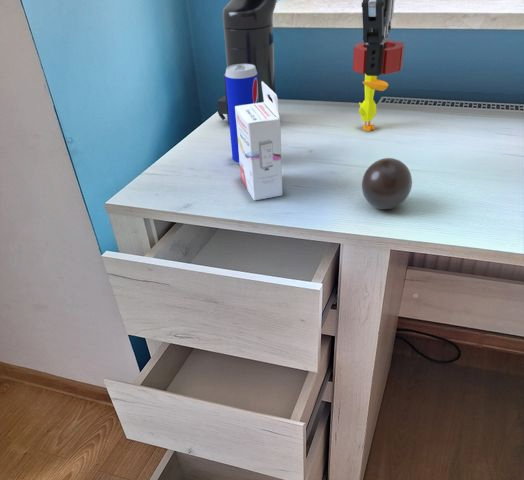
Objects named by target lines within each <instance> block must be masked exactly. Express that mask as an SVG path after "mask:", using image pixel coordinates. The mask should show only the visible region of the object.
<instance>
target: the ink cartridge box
mask: <svg viewBox="0 0 524 480" xmlns="http://www.w3.org/2000/svg"><path fill="white" fill-rule="evenodd" d="M261 84H262V92H263V99H264V102H261V103H254V104H247V105H240V106H235V114H236V124H237V136H238V148H239V162H240V165H239V171H240V172H239V173H240V180H241V182H242V183H243V185H244V187H245V189H246V190H247V191H248V193H249V194H250V196H251V198H252V200H253V201H260V200H265V199H270V198H275V197H281V196H283V169H282V168H283V167H282V165H283V163H282V132H281V131H282V129H281V117H280V116H281V115H280V105H279V99H278V98H279V97H278V95H277V94H276V92H275V93H274V92H273V91H272V90H271V89H270V88H269V87H268V86H267V85H266V84H265V83H264V82H263V81H262V82H261ZM269 94H270V97H271V98H272V100H273V103H272V102H271V101H270V100H269V98H268V95H269Z"/></svg>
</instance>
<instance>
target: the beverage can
mask: <svg viewBox="0 0 524 480" xmlns="http://www.w3.org/2000/svg"><path fill="white" fill-rule="evenodd" d="M225 72H226V74H225V79H226V91H227V102H228V113H229V124H228V125H229V132H230V133H229V134H230V136H229V137H230V146H231V147H230V148H231V158H232V161H233V162H234V163H235V164H236V165H238V166H240V162H239V148H238V136H237V124H236V114H235V106H240V105H247V104H254V103H259V95H258V75H257V70H256V67H255V66H254V65H252V64H235V65H231V66H228V67H227V66H226V67H225Z"/></svg>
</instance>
